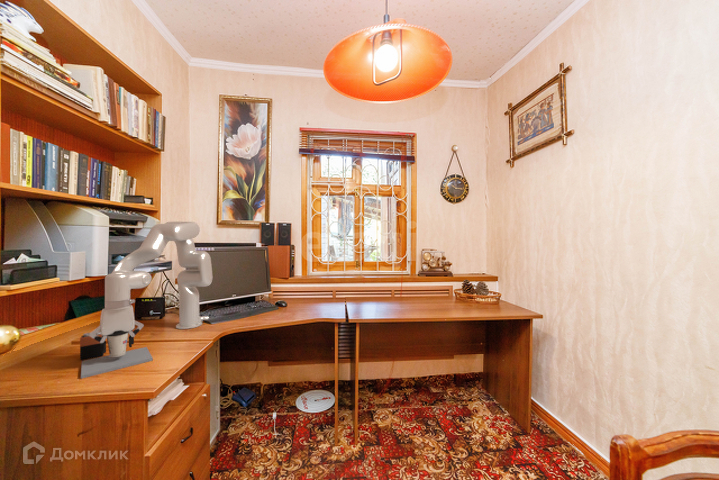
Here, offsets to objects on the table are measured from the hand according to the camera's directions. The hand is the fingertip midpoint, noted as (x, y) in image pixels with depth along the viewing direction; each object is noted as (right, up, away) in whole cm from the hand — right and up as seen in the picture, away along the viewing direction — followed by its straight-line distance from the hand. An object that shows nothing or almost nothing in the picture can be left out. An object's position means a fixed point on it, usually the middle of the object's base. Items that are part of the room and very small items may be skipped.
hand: (117, 348), depth 106 cm
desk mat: (0, -5, 0) cm, 5 cm away
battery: (-15, -5, +5) cm, 17 cm away
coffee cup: (0, -2, 0) cm, 2 cm away
